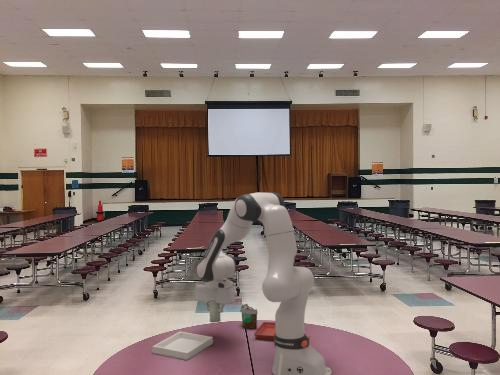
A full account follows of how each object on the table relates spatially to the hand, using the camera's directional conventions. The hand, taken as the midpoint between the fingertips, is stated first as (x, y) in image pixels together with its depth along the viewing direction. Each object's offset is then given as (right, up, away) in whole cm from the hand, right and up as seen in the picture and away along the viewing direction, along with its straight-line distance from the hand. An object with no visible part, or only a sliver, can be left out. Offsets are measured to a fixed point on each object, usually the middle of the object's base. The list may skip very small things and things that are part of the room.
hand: (214, 311), depth 203 cm
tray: (-13, -12, -13) cm, 22 cm away
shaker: (0, -4, 0) cm, 4 cm away
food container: (+15, -12, +13) cm, 23 cm away
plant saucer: (+29, -12, +1) cm, 32 cm away
